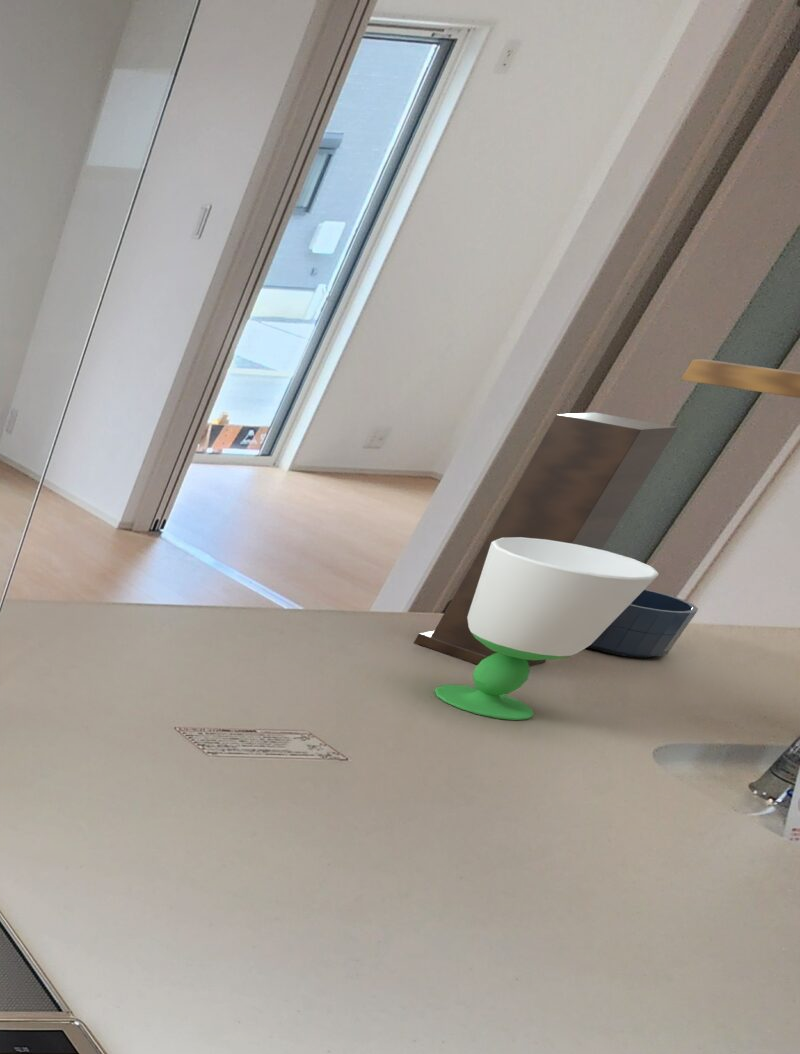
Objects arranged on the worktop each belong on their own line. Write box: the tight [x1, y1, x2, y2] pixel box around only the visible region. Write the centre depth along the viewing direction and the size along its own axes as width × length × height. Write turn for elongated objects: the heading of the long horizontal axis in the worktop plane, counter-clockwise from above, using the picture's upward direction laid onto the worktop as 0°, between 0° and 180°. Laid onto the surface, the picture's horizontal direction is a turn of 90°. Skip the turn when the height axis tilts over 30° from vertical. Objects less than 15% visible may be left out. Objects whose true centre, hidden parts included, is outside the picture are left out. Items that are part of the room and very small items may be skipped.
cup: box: [434, 537, 659, 721], centre depth 115 cm, size 14×14×16 cm
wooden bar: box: [680, 358, 800, 399], centre depth 113 cm, size 18×2×2 cm, turn 26°
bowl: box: [587, 588, 699, 659], centre depth 138 cm, size 11×11×6 cm
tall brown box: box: [413, 411, 679, 667], centre depth 126 cm, size 10×10×26 cm
